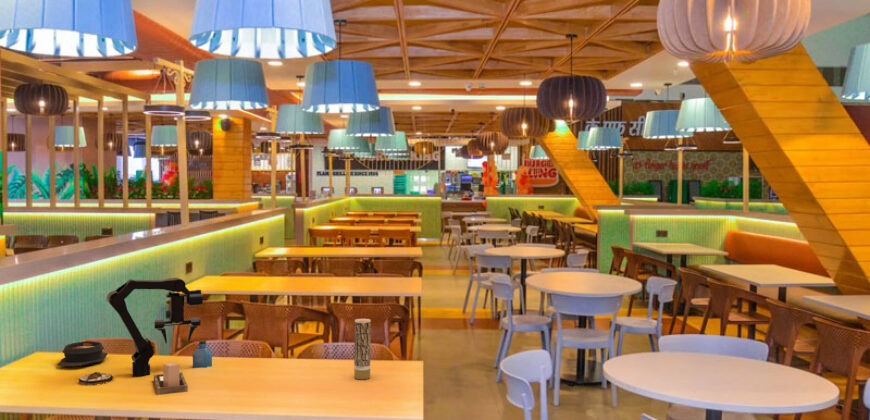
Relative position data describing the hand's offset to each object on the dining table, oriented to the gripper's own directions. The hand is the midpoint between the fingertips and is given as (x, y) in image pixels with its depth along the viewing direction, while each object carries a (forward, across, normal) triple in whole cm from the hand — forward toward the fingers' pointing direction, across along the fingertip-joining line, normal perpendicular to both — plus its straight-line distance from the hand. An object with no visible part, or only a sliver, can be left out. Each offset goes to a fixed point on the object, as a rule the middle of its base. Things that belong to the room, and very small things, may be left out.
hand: (177, 342), depth 308 cm
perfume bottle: (+13, -11, -4) cm, 18 cm away
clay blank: (+12, +5, +29) cm, 32 cm away
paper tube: (+13, -71, +40) cm, 83 cm away
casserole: (+13, +37, -33) cm, 51 cm away
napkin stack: (+12, +5, +19) cm, 23 cm away
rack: (+13, +5, +24) cm, 28 cm away
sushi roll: (+14, +32, +2) cm, 35 cm away
